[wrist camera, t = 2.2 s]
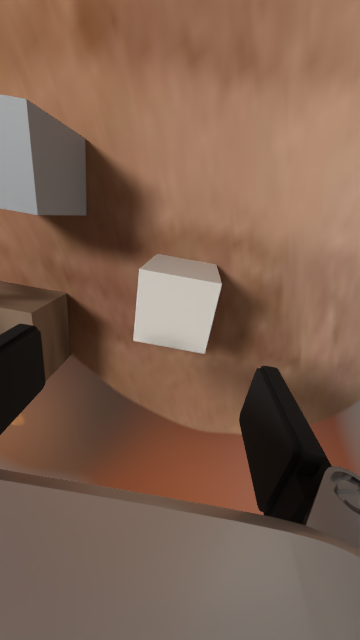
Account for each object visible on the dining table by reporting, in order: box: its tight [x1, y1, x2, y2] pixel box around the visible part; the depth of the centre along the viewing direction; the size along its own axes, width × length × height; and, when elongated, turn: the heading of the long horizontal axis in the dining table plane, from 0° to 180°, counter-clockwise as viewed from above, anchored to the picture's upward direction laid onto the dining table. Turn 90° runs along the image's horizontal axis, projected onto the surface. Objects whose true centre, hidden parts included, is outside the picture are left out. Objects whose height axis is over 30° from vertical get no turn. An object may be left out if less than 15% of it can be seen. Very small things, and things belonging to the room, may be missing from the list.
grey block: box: [0, 95, 87, 215], centre depth 14 cm, size 5×5×6 cm
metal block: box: [0, 281, 71, 382], centre depth 21 cm, size 7×7×5 cm
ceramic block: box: [133, 254, 222, 354], centre depth 17 cm, size 5×5×6 cm
